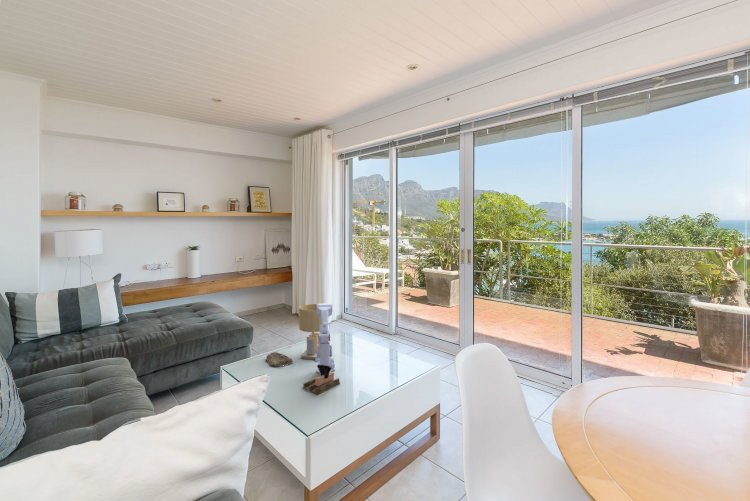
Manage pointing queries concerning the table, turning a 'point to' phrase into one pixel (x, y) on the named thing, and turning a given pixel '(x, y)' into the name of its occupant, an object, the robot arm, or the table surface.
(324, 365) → the robot arm
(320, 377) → the light brown long block
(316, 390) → the walnut rack
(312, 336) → the desk lamp
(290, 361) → the brown rock
